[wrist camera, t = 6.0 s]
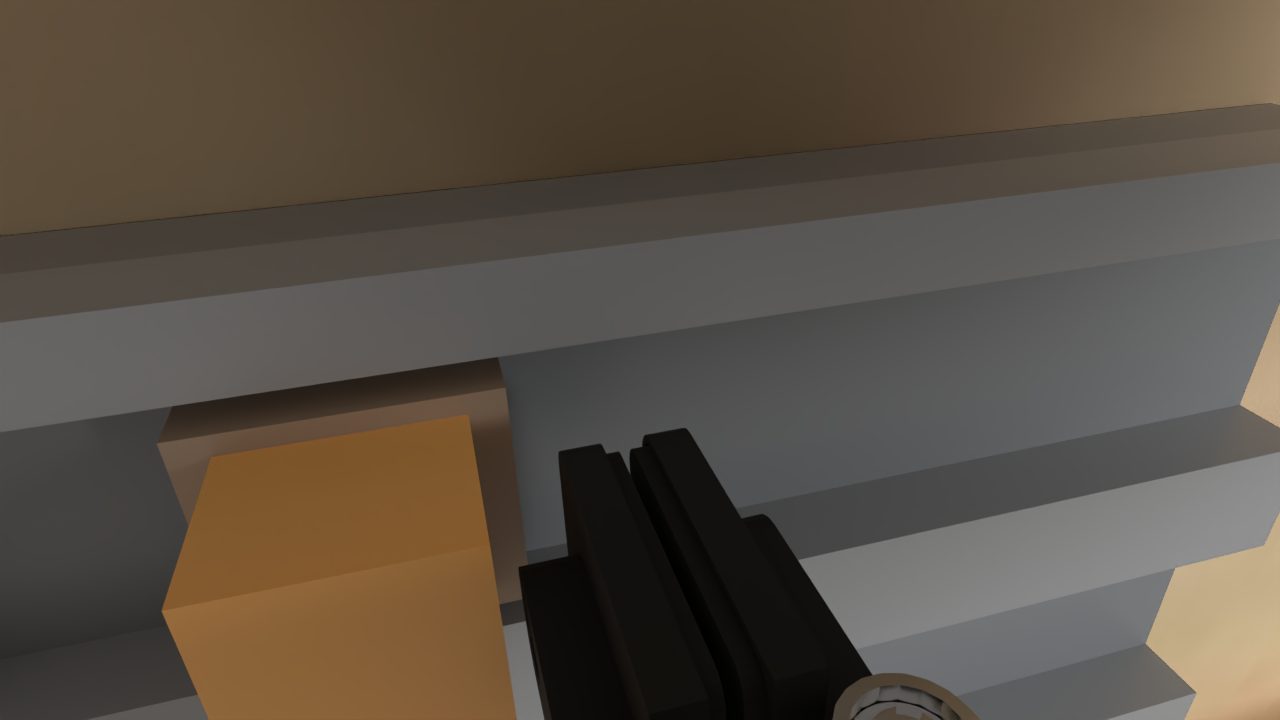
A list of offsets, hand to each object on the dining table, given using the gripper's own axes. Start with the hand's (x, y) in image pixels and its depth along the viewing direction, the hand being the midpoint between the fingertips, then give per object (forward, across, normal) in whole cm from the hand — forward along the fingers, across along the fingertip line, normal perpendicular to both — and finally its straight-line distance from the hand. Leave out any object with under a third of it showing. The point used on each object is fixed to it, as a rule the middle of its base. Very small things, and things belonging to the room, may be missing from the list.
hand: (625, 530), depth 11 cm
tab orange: (+2, +3, 0) cm, 4 cm away
